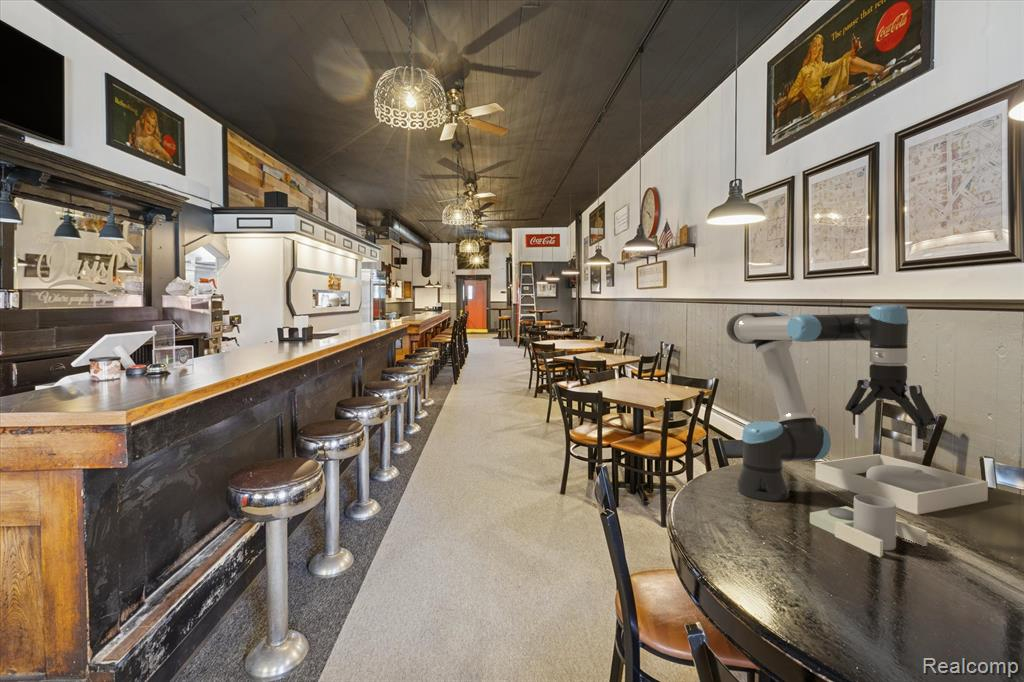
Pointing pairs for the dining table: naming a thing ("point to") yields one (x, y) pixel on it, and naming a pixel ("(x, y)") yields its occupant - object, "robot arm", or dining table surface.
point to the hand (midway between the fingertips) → (887, 444)
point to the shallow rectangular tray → (955, 494)
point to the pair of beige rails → (842, 527)
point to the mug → (876, 518)
